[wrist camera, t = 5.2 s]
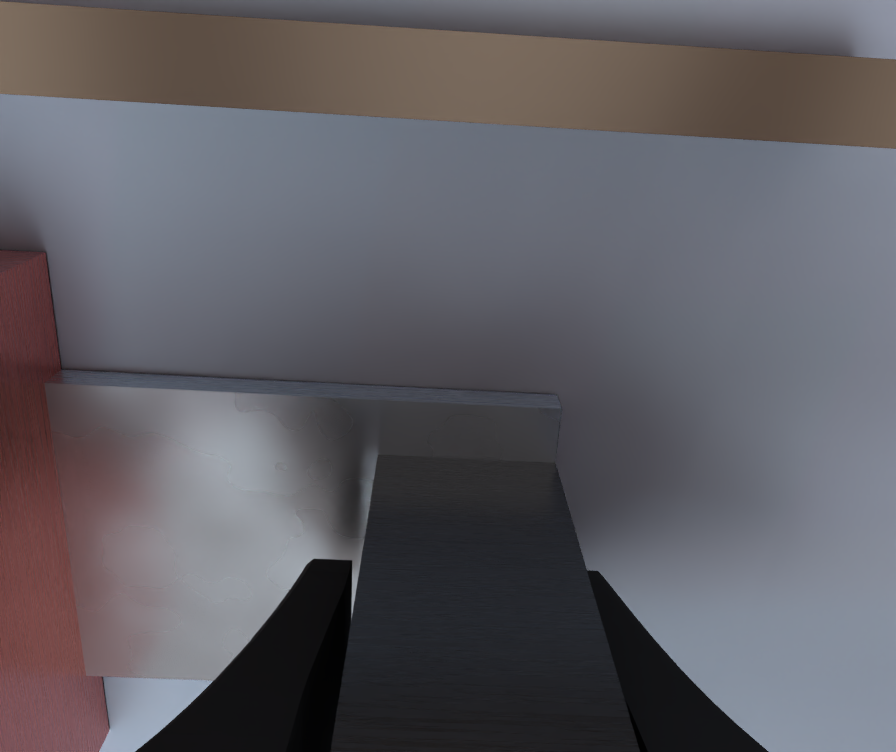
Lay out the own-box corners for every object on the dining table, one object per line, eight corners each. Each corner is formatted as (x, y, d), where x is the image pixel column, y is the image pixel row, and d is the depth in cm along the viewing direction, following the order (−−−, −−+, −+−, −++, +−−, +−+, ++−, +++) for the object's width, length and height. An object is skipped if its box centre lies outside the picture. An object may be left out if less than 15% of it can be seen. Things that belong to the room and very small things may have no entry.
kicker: (569, 281, 13) (710, 509, 6) (514, 745, 16) (564, 1195, 10) (-70, 246, 12) (-645, 445, 6) (20, 727, 16) (-268, 1181, 9)
